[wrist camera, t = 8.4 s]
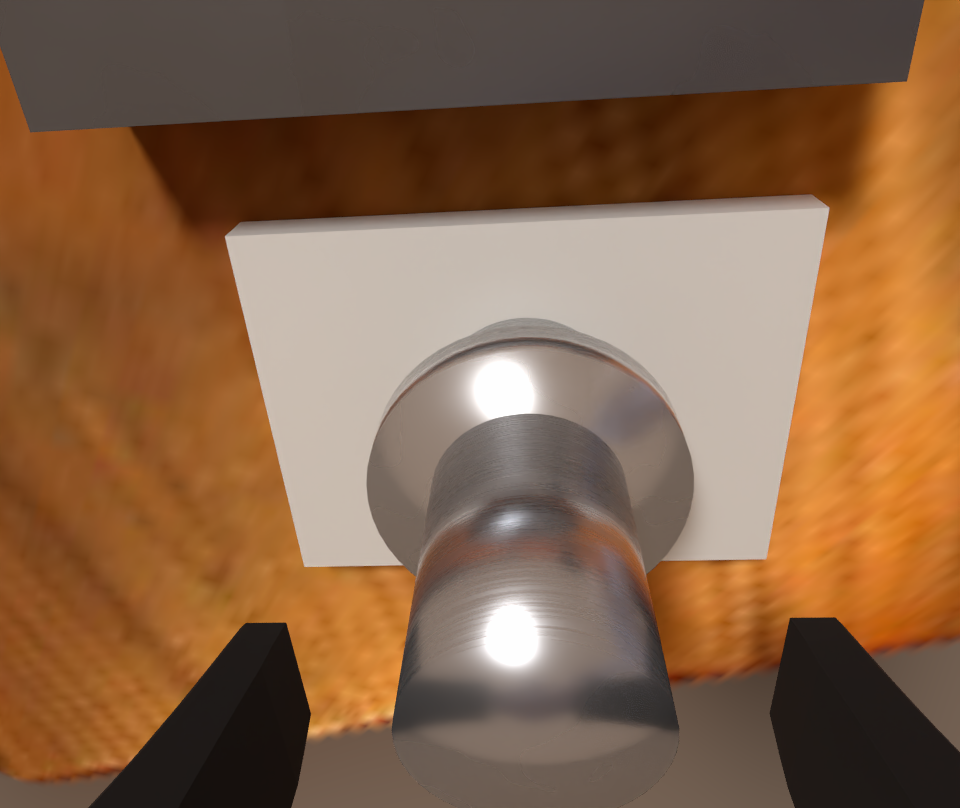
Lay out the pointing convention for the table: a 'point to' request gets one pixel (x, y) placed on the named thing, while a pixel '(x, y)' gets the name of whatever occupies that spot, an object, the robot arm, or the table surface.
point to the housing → (425, 54)
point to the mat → (545, 295)
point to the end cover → (532, 567)
